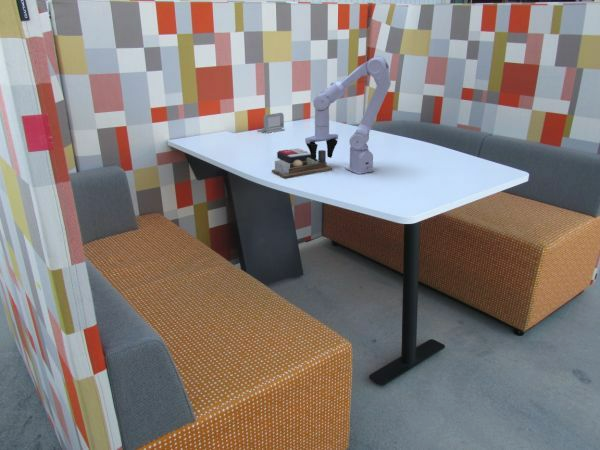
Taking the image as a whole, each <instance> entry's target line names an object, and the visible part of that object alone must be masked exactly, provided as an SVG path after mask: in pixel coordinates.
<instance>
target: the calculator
mask: <svg viewBox="0 0 600 450" xmlns="http://www.w3.org/2000/svg"><path fill="white" fill-rule="evenodd" d="M276 153H277V154H276V156H277V159H278V160H282V161H285V162H287V163H289V164H290V163H293V162H294V161H295V160H300V161H307V158H311V159H312V157H311V153H310V151H309V152H308V151H307V150H305V149H304V150H303V149H302V148H299V147H298V148H292V149H291V148H290V149H283V150H278V151H277V152H276Z"/></svg>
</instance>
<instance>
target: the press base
mask: <svg viewBox="0 0 600 450" xmlns="http://www.w3.org/2000/svg"><path fill="white" fill-rule="evenodd" d="M314 161H318V159H317V158H316V160H314ZM302 163H303V166H299V167H293V163H290V171H289V174H286V175H283V174H280V173H278V172H276V171H275V168H274V169H271V174H274V175H275V176H278V177H281V178H282V179H284V180H285V179H286V180H287V179H292V178H296V177H304V176H307V175H313V174H318V173H324V172H331V171H333V167H332V166H328V165H327V166H326V163H325V162H322V163H316V164H311V165H307V161H302Z"/></svg>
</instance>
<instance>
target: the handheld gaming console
mask: <svg viewBox="0 0 600 450" xmlns="http://www.w3.org/2000/svg"><path fill="white" fill-rule="evenodd" d="M284 118H285V116H284V113H283V112H276V113H271V114H270V113H269V114H265V115H263V128H261V129H257V130H256V132H257V131H258V132H257V133H260V132H261V134H264V133H265V135H266V133H267V134H272V132H273V133H278V132H283V131H285V119H284Z"/></svg>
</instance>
